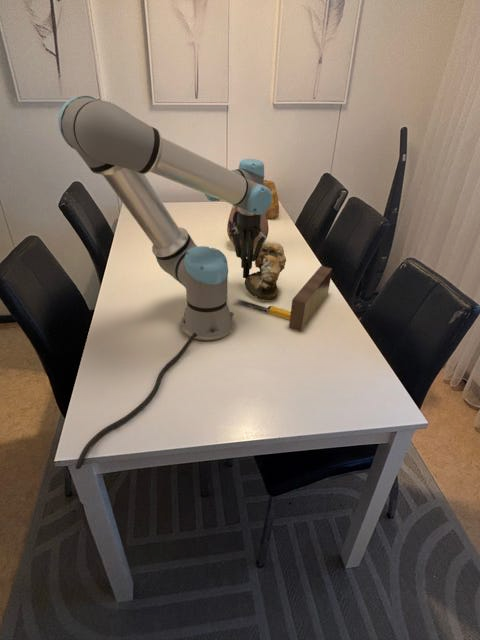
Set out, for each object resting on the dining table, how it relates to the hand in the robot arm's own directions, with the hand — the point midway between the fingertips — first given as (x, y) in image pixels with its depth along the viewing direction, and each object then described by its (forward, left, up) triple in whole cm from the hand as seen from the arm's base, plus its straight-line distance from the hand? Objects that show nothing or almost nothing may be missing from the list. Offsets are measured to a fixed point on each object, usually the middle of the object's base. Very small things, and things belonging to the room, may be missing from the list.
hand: (246, 276), depth 138 cm
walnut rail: (-4, -26, -4) cm, 26 cm away
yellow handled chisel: (-12, -13, -4) cm, 18 cm away
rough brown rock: (+75, +30, -4) cm, 81 cm away
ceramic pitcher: (+33, +16, -4) cm, 37 cm away
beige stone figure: (-1, -6, -3) cm, 7 cm away
